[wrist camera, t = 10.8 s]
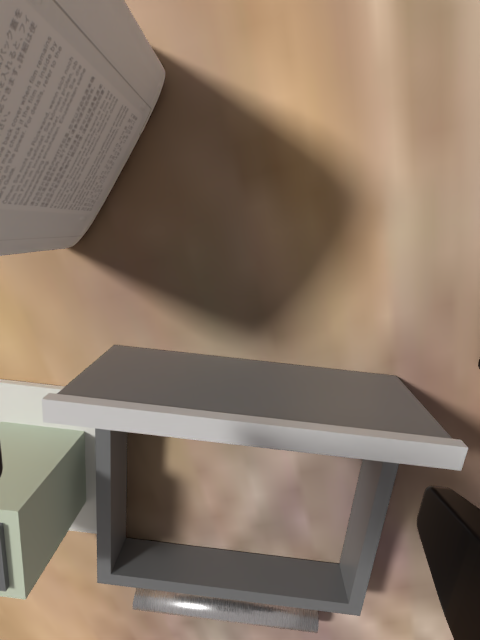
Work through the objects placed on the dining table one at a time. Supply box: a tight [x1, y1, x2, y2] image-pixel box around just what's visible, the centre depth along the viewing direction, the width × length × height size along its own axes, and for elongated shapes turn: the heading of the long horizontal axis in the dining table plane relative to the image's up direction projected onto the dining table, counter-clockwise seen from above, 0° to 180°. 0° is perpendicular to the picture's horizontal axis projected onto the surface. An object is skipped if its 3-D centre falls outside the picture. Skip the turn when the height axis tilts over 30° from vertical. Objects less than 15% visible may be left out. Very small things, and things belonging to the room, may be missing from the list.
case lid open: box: [42, 345, 468, 471], centre depth 17 cm, size 16×2×6 cm, turn 84°
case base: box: [95, 428, 399, 616], centre depth 20 cm, size 16×13×3 cm
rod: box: [133, 588, 318, 633], centre depth 24 cm, size 12×1×1 cm, turn 84°
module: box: [0, 422, 86, 599], centre depth 19 cm, size 5×5×6 cm
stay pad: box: [0, 379, 97, 534], centre depth 22 cm, size 7×10×1 cm
